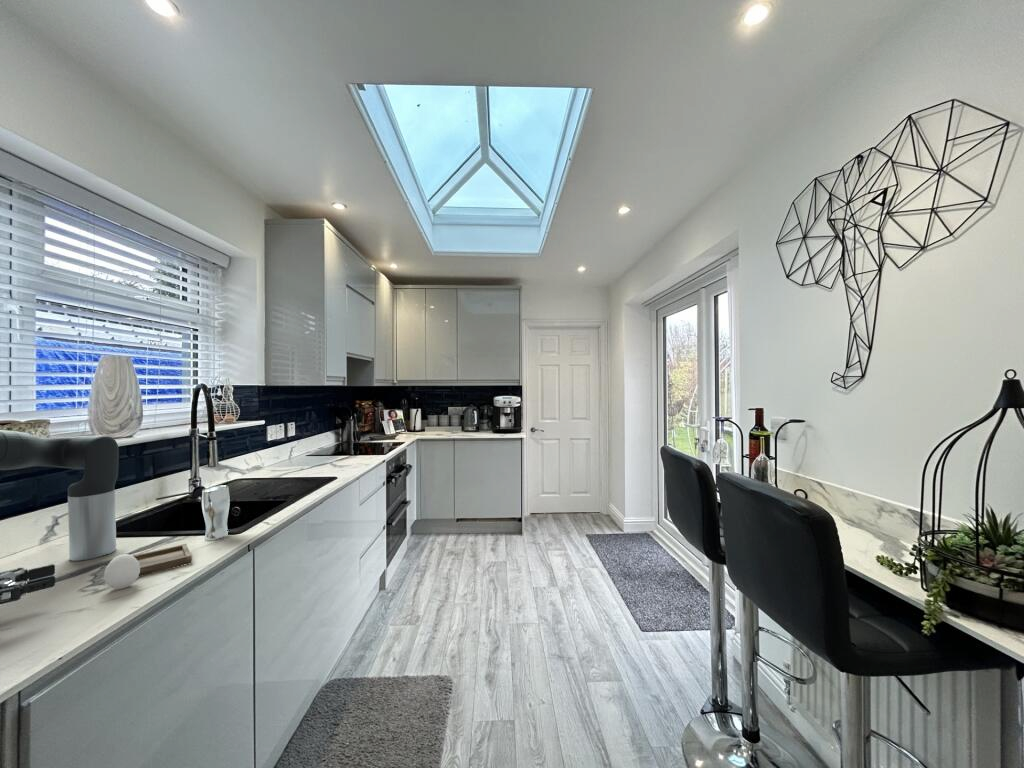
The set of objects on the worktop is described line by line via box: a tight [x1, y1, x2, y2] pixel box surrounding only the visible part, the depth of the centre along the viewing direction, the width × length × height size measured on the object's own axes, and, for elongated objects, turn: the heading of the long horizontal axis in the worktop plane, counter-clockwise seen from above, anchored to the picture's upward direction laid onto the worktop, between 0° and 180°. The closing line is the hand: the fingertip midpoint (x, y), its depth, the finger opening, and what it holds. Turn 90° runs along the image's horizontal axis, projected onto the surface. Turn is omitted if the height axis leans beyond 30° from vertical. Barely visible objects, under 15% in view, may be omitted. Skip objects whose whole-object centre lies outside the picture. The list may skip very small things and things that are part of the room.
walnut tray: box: [133, 543, 192, 577], centre depth 107 cm, size 12×12×2 cm
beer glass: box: [201, 485, 231, 541], centre depth 126 cm, size 7×7×15 cm
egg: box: [103, 553, 140, 590], centre depth 95 cm, size 6×6×8 cm
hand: (54, 574), depth 87 cm, fingers open, 8 cm apart
